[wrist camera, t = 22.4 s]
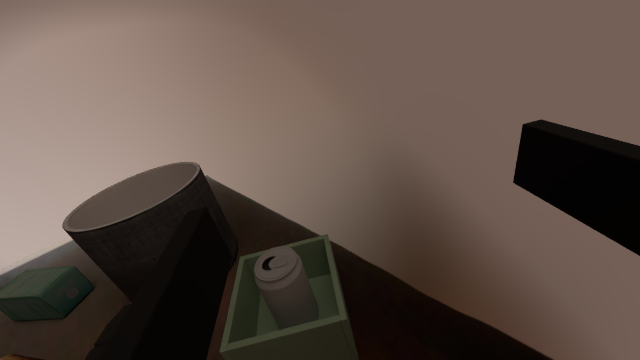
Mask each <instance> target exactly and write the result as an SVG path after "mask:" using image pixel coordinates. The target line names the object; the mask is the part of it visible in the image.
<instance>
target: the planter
mask: <svg viewBox="0 0 640 360" xmlns="http://www.w3.org/2000/svg"><path fill="white" fill-rule="evenodd" d="M203 207H207V209H208V211H209V213H210V215H211V217H212V219H213V220H214V222H215V224H216V226H217V228H218V230H219V232H220V234H221V235H222V237H223V239H224V241H225V243H226V245H227V247H228V248H229V250H230V252H231V254H232V260H231V264H230V268H231V266H232V264H233V262H234V261H235V258H236V255H237V252H238V243H237V240H236V238H235V236H234V234H233V232H232V230H231V228H230V226H229V224H228V222H227V220H226V218H225V216H224V214H223V212H222V210H221V208H220V206H219V204H218V202H217V200H216V198H215V196H214V194H213V192H212V190H211V188H210V186H209V184H208V182H207V180H206V178H205V176H204V174H203V172H202V170H201V168H200V166H199V165H198V164H197V163H193V162H180V163H173V164H169V165H165V166H161V167H157V168H154V169H151V170H148V171H145V172H142V173H140V174H137V175H135V176H132V177H130V178H127V179H125V180H123V181H121V182H119V183H117V184H114V185H113V186H111V187H108V188H107V189H105V190H103V191H101V192H99V193H98V194H96V195H94V196H93V197H91V198H89V199H88V200H86V201H85V202H83V203H82V204H81V205H79V206H78V207H77V208H76V209H74V210H73V211H72V212H71V213H70V214H69V215H68V216H67V217H66V219H65V220H64V222H63V229H64V230H65V231H66V232H67V233H68V234H69V235H70V236H71V238H72V239H73V240H74V241H75V242H76V243H77V244H78V245H79V246H80V247H81V248H82V249H83V250H84V251H85V253H86V254H87V255H88V256H89V257H90V258H91V259H92V260H93V261H94V262H95V263H96V264H97V265H98V266H99V268H100V269H101V270H102V271H103V272H104V273H105V274H106V275H107V276H108V277H109V278H110V279H111V280H112V281H113V282H114V283H115V284H116V286H117V287H118V288H119V289H120V290H121V291H122V292H123V293H124V294H125V295H126V296H127V297H128V298H129V299H130V300H131V302H133V301H134V299H135V297H136V296H137V294H138V292H139V291H140V289H141V287H142V286H143V284H144V282H145V281H146V279H147V277H148V276H149V274H150V273H151V271H152V269H153V268H154V266H155V264H156V263H157V261H158V259H159V258H160V256H161V254H162V253H163V251H164V249H165V248H166V246H167V244H168V243H169V241H170V239H171V238H172V236H173V235H174V233H175V231H176V230H177V228H178V226H179V225H180V223H181V221H182V220H183V218H184V216H185V215H186V213H187V211H191V210H195V209H199V208H203ZM230 268H229V269H230Z"/></svg>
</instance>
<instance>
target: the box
mask: <svg viewBox="0 0 640 360" xmlns="http://www.w3.org/2000/svg"><path fill="white" fill-rule="evenodd" d="M93 288H94V287H93V285H92V284H91V283H90V282H89V281H88V279H87V278H86V277H85V276H84V275H83V274H82V273H81V272H80V271H79V270H78V269H77V268H76V267H74V266H67V267H58V268H47V269H35V270H26V271H25V272H23V273H22V274H20V275H19V276H18V277H16V278H15V279H13V280H12V281H11V282H9V283H8V284H6V285H5V286H4V287H2V288H1V289H0V310H1V311H2V312H3V313H5V314H6V315H7V316H8V317H10V318H11V319H12V320H14V321H18V320H42V319H60V318H65V317H66V316H67V315H68V314H69V313H70V312H71V311H72V310H73V309H74V308H75V307H76V306H77V305H78V304H79V303H80V302H81V301H82V300H83V299H84V298H85V297H86V296H87V295H88V294H89V293H90V292H91V291H92V289H93Z"/></svg>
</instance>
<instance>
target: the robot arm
mask: <svg viewBox="0 0 640 360" xmlns="http://www.w3.org/2000/svg"><path fill="white" fill-rule="evenodd" d="M513 183H515V184H516V185H518V186H520V187H522V188H523V189H525V190H527V191H529V192H530V193H532V194H534V195H535V196H538V197H539V198H541V199H542V200H544V201H546V202H548V203H549V204H551V205H553V206H554V207H556V208H558V209H560V210H561V211H563V212H565V213H567V214H568V215H570V216H572V217H573V218H575V219H577V220H579V221H580V222H582V223H584V224H586V225H587V226H589V227H591V228H592V229H594V230H596V231H598V232H600V233H601V234H603V235H605V236H606V237H608V238H610V239H611V240H613V241H615V242H617V243H619V244H620V245H622V246H624V247H625V248H627V249H629V250H631V251H633V252H634V253H636V254H638V255H639V256H640V146H638V145H634V144H630V143H626V142H622V141H619V140H615V139H612V138H608V137H604V136H600V135H597V134H593V133H589V132H585V131H582V130H578V129H574V128H571V127H567V126H563V125H559V124H556V123H552V122H548V121H544V120H538V121H534V122H530V123H526V124H523V127H522V133H521V138H520V144H519V151H518V157H517V162H516V168H515V175H514V181H513ZM231 260H232V254H231V252H230V250H229V248H228V247H227V245H226V243H225V241H224V239H223V237H222V235H221V234H220V232H219V230H218V228H217V226H216V224H215V222H214V220H213V219H212V217H211V215H210V213H209V211H208V209H207V207H203V208H199V209H195V210H191V211H187V213H186V215H185V216H184V218H183V220H182V221H181V223H180V225H179V226H178V228H177V230H176V231H175V233H174V235H173V236H172V238H171V239H170V241H169V243H168V244H167V246H166V248H165V249H164V251H163V253H162V254H161V256H160V258H159V259H158V261H157V263H156V264H155V266H154V268H153V269H152V271H151V273H150V274H149V276H148V277H147V279H146V281H145V282H144V284H143V286H142V287H141V289H140V291H139V292H138V294H137V296H136V297H135V299H134V301H133V302H132V304H129V305H126V306H124V307H123V309H122V310H121V311H120V312H119V313H118V314H117V315H116V316H115V317H114V318H113V319H112V320H111V321H110V322H109V323H108V324H107V326H106V327H105V329H104V331H103V332H102V334H101V335H100V337H99V338H98V340H97V341H96V343H95V344H94V345H95V347H94V348H93V349H91V351H90V352H89V354H88V355H87V357H86V358H85V360H206V358H207V354H208V350H209V346H210V342H211V338H212V334H213V331H214V327H215V323H216V319H217V315H218V311H219V307H220V303H221V299H222V295H223V291H224V287H225V283H226V280H227V276H228V272H229V268H230V264H231Z"/></svg>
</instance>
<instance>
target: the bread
mask: <svg viewBox="0 0 640 360" xmlns="http://www.w3.org/2000/svg"><path fill="white" fill-rule="evenodd" d="M0 360H43V359H37V358H31V357H25V356H21V355H8V356H5V357H3V358H1V359H0Z"/></svg>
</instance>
